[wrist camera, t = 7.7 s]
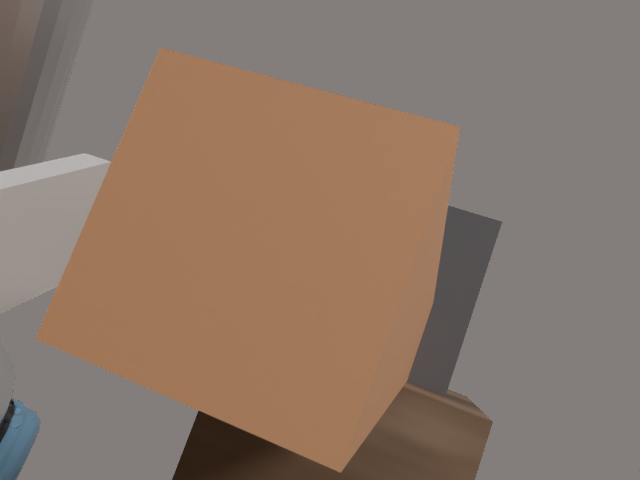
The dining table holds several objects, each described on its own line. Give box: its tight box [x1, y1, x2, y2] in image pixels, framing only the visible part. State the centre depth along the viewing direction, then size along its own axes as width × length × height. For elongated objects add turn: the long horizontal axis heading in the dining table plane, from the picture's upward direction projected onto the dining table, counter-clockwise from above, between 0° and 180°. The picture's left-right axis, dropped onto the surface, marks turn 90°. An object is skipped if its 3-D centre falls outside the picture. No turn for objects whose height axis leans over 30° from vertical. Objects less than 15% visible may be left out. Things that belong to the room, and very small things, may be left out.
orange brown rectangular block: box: [35, 48, 502, 473], centre depth 19 cm, size 26×7×8 cm, turn 168°
